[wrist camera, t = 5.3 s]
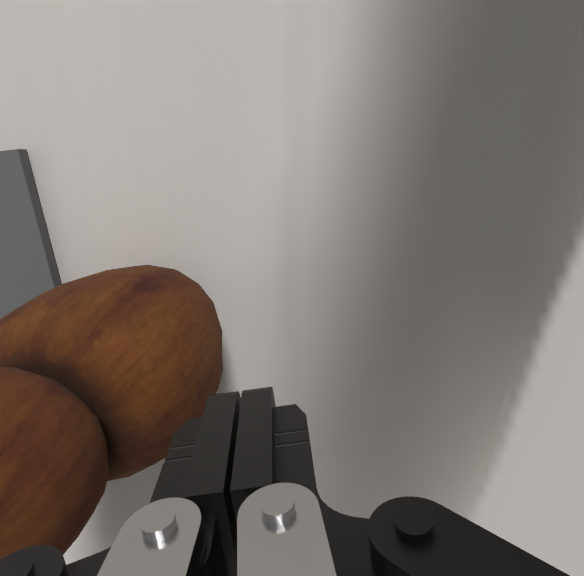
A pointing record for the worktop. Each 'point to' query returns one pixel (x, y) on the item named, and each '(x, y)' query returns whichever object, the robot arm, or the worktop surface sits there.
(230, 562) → the robot arm
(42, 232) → the book
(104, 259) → the worktop surface
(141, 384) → the wooden figurine
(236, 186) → the worktop surface
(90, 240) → the worktop surface
